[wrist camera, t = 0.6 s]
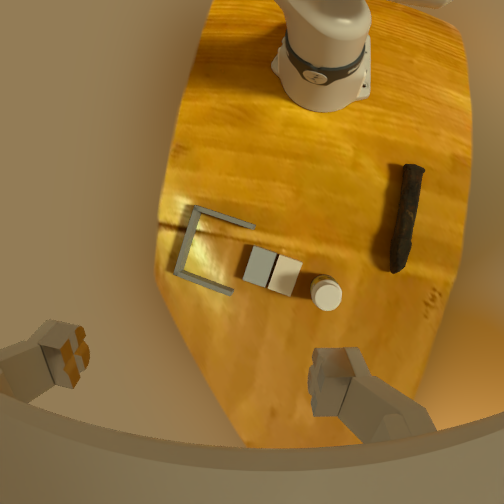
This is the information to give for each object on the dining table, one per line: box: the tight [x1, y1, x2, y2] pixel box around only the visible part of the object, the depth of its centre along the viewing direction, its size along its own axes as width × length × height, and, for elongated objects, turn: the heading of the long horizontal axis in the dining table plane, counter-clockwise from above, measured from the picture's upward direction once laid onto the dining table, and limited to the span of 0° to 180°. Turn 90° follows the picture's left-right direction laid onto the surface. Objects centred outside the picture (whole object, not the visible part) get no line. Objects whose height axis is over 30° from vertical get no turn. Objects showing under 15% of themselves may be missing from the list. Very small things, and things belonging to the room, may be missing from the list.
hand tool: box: [390, 164, 425, 274], centre depth 49 cm, size 19×4×5 cm, turn 165°
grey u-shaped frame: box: [173, 205, 256, 296], centre depth 54 cm, size 13×11×2 cm
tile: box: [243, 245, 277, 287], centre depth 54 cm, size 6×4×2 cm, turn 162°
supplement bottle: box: [310, 275, 342, 311], centre depth 49 cm, size 5×5×8 cm
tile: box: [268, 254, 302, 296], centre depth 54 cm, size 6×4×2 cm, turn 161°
